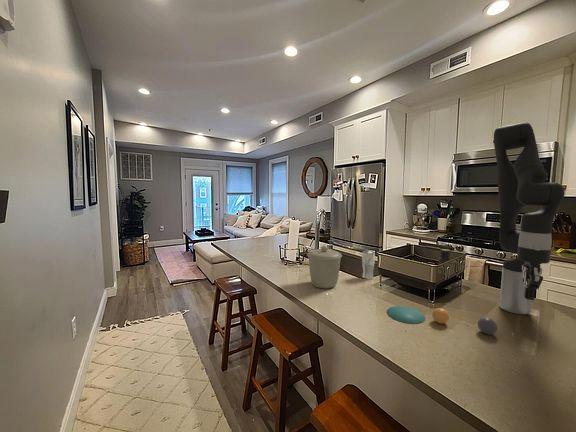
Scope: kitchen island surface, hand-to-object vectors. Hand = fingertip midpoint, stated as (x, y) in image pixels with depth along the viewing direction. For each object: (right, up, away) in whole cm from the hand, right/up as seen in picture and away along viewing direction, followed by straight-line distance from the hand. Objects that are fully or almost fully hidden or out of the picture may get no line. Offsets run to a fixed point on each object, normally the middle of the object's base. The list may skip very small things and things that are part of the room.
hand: (528, 298), depth 82 cm
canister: (-59, -10, +53) cm, 80 cm away
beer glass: (-32, -9, +63) cm, 72 cm away
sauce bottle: (+1, -10, +47) cm, 49 cm away
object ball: (-20, -11, +14) cm, 27 cm away
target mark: (-31, -13, +20) cm, 39 cm away
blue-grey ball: (-8, -12, +6) cm, 16 cm away
